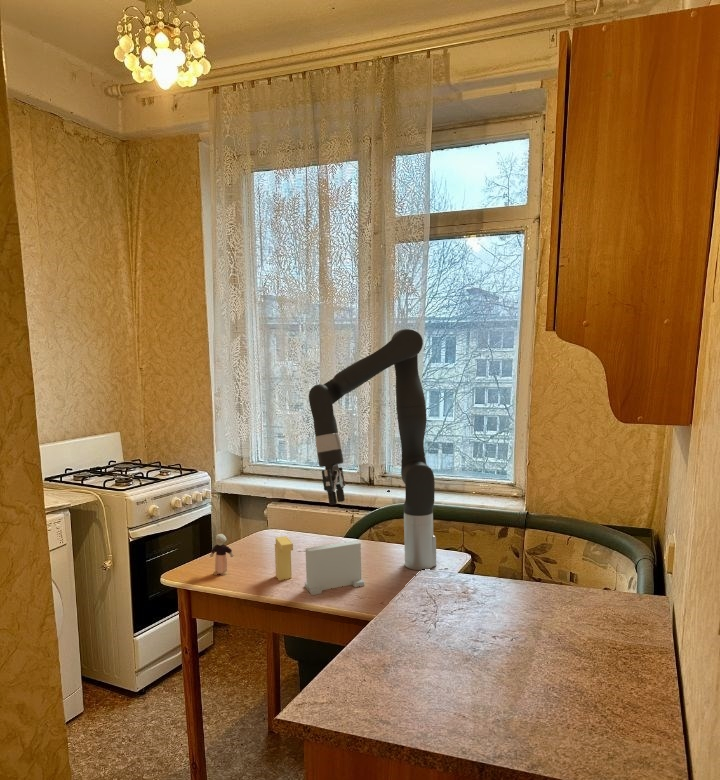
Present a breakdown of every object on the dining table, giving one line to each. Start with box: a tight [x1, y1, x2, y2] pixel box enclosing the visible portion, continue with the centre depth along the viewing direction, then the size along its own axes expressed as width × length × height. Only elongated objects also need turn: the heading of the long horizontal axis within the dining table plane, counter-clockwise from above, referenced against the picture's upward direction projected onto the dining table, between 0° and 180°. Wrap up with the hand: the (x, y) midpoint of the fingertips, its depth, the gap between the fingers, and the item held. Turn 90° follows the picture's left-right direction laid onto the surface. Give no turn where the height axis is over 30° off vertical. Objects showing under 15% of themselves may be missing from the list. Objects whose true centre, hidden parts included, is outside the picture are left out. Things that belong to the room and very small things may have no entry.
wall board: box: [304, 540, 365, 596], centre depth 164 cm, size 16×7×12 cm, turn 112°
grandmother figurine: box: [209, 533, 235, 576], centre depth 175 cm, size 8×4×13 cm, turn 92°
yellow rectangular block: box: [274, 535, 294, 581], centre depth 169 cm, size 4×8×12 cm, turn 22°
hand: (337, 503), depth 169 cm, fingers open, 8 cm apart
